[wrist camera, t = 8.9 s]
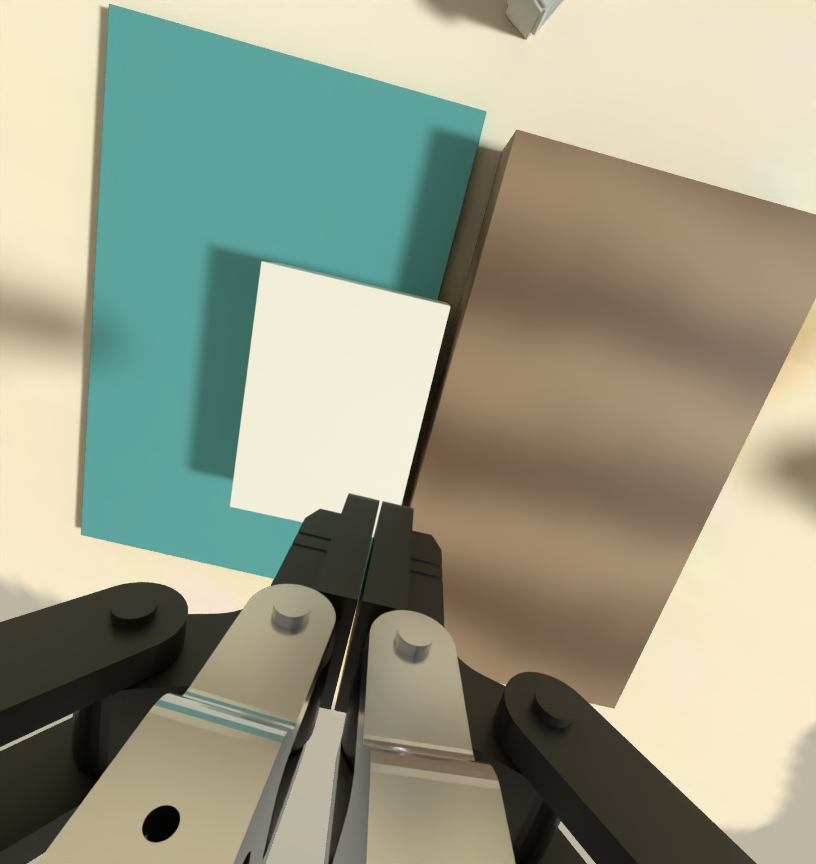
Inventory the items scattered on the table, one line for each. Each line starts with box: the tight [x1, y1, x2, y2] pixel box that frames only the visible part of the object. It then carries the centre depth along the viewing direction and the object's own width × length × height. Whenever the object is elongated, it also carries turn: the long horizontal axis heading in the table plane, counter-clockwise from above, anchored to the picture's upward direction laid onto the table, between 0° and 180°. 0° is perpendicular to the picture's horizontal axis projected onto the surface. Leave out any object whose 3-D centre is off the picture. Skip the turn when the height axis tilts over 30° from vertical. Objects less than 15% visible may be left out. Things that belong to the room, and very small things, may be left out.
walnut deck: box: [404, 130, 816, 708], centre depth 21 cm, size 22×12×3 cm, turn 166°
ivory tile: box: [230, 261, 451, 537], centre depth 20 cm, size 10×7×2 cm
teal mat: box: [81, 4, 486, 595], centre depth 21 cm, size 22×14×1 cm, turn 166°
